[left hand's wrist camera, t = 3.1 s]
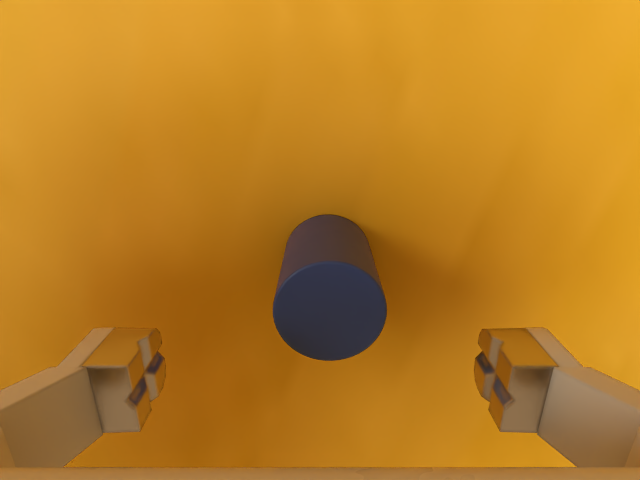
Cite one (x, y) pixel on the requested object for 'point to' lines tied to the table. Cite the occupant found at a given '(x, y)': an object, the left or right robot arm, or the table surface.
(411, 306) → the table surface
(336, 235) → the canister
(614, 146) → the table surface
